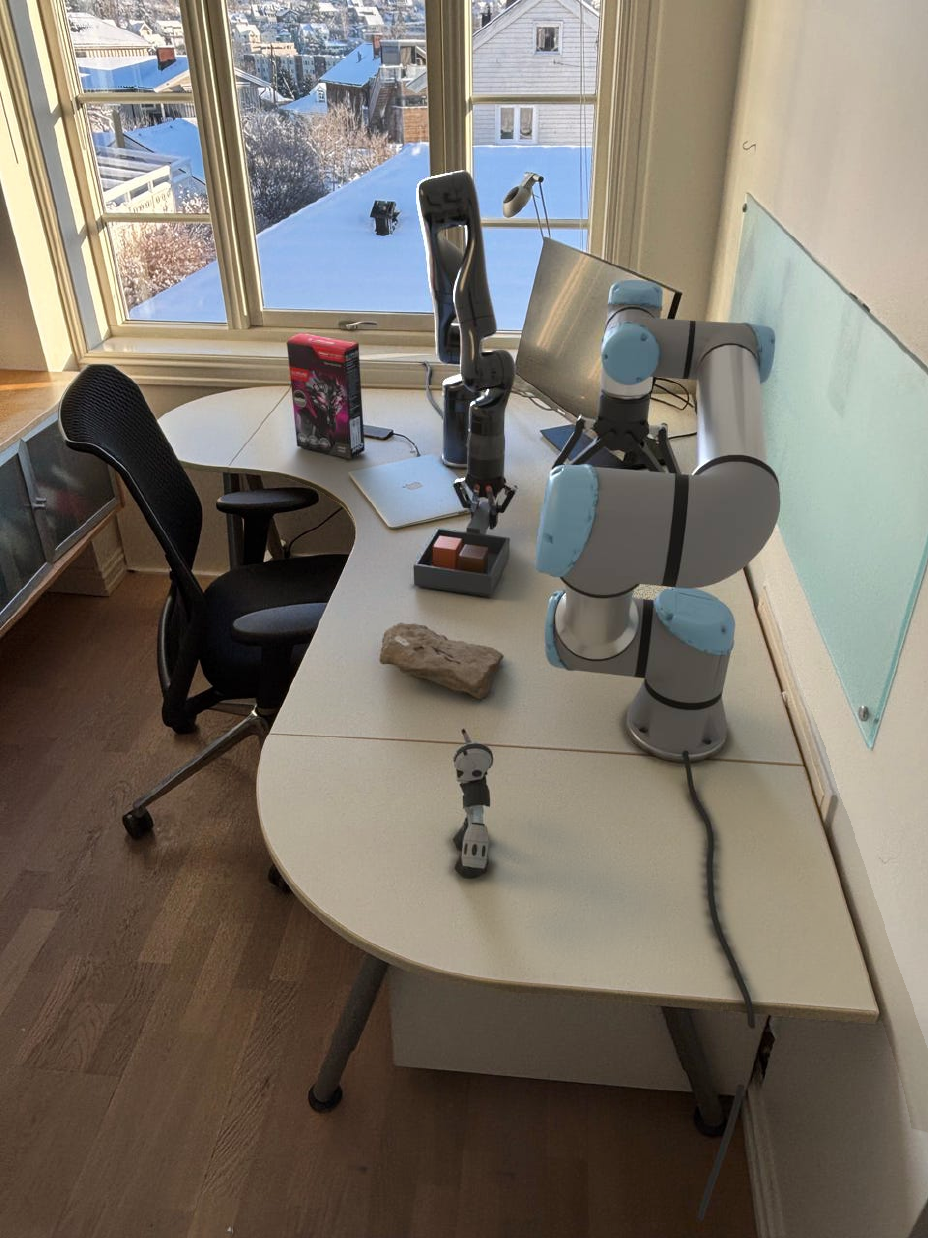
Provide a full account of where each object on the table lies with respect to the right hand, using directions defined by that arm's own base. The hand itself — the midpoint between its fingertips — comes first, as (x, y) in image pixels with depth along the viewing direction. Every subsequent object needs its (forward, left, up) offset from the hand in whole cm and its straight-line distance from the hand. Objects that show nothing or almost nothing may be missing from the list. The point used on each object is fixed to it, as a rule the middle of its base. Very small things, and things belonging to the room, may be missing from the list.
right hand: (611, 518), depth 149 cm
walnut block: (+13, +26, -24) cm, 38 cm away
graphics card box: (+65, +77, -25) cm, 104 cm away
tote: (+22, +29, -24) cm, 44 cm away
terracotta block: (+15, +32, -23) cm, 42 cm away
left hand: (+33, +29, -23) cm, 50 cm away
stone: (-16, +25, -25) cm, 39 cm away
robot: (-53, +9, -25) cm, 59 cm away
